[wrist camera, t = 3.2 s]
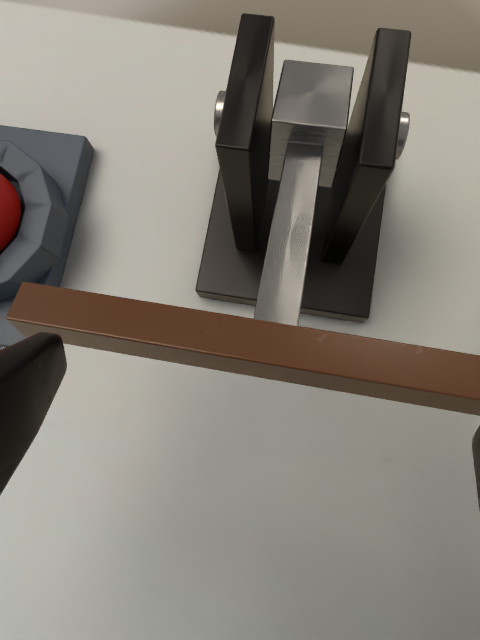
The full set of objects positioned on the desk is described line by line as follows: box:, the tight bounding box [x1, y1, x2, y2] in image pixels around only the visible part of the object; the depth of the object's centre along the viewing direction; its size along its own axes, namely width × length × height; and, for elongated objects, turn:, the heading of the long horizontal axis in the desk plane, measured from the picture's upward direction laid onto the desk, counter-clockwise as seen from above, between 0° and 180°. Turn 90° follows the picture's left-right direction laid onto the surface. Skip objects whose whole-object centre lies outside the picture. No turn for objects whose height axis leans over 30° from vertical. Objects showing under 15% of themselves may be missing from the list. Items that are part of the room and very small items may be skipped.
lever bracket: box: [196, 13, 411, 323], centre depth 18 cm, size 9×8×10 cm
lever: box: [6, 60, 480, 416], centre depth 13 cm, size 10×13×2 cm
